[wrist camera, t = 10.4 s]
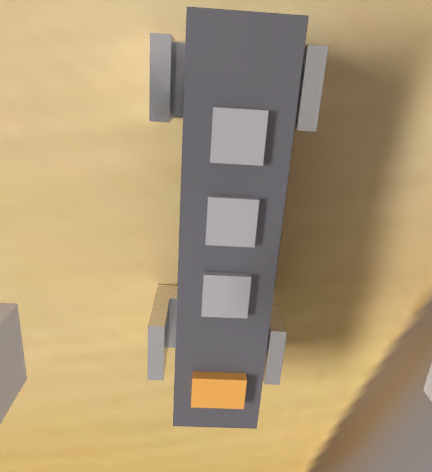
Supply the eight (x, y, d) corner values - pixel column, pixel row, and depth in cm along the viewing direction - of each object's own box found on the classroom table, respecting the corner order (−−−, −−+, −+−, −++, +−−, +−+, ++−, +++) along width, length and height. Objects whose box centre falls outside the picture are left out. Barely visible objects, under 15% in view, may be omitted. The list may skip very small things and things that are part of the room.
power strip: (191, 26, 22) (185, 3, 16) (282, 33, 22) (312, 13, 16) (179, 361, 30) (172, 434, 23) (247, 363, 30) (257, 436, 24)
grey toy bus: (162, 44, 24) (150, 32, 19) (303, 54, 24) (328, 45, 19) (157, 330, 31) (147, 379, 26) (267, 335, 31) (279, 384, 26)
